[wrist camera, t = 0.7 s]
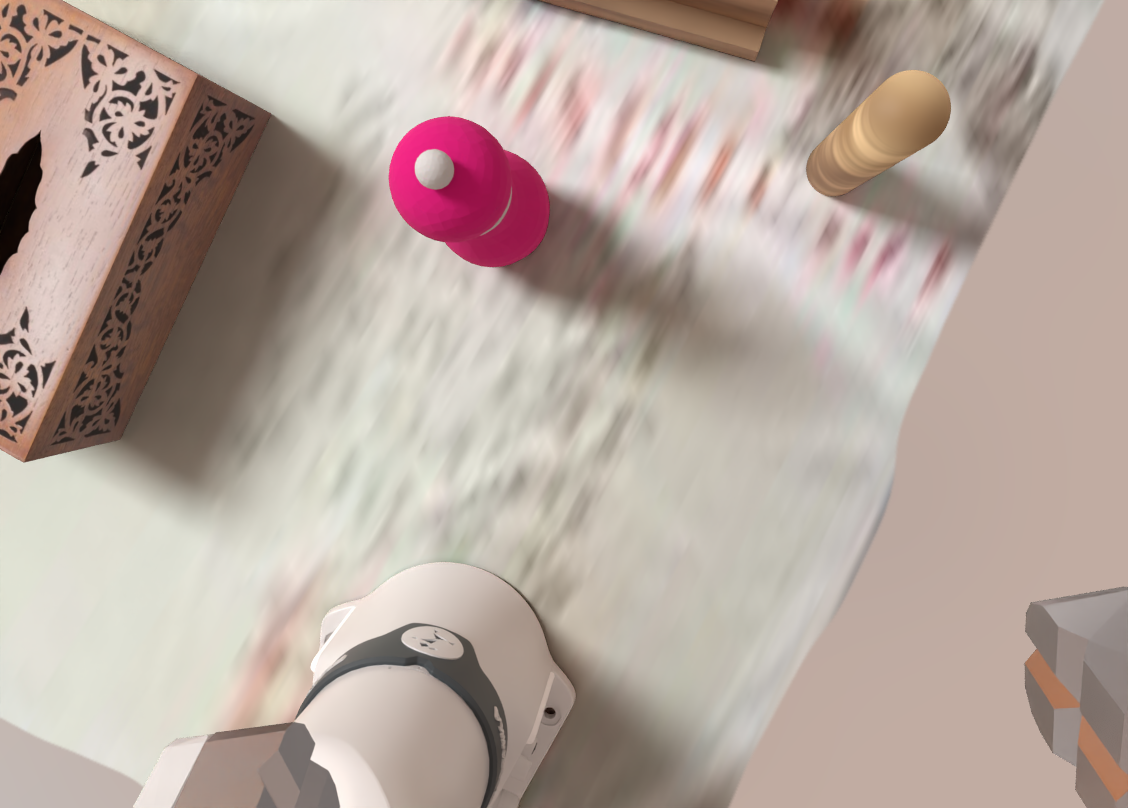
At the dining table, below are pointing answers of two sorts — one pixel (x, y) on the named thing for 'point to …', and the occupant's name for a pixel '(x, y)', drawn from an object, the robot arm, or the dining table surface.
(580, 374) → the dining table surface
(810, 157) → the dowel
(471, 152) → the pepper mill
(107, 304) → the tissue box cover
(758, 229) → the dining table surface
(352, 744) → the robot arm
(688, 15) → the stepped base
